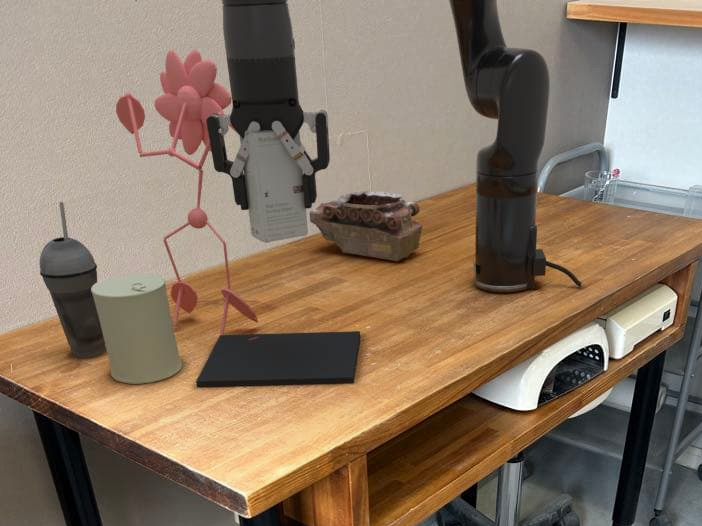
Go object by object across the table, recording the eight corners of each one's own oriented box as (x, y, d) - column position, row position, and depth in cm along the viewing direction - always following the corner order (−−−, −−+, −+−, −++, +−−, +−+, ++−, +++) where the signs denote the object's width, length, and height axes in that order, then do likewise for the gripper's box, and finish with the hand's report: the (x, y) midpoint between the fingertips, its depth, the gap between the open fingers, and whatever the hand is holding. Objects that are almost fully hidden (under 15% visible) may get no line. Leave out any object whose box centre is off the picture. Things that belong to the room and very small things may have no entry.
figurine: (264, 345, 117) (227, 51, 99) (130, 321, 129) (75, 54, 110) (329, 314, 128) (306, 44, 110) (200, 294, 140) (160, 48, 121)
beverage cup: (69, 343, 123) (30, 197, 112) (120, 340, 123) (87, 194, 112) (56, 363, 117) (14, 211, 106) (110, 360, 117) (74, 208, 106)
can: (138, 390, 109) (116, 297, 102) (97, 372, 114) (74, 283, 107) (196, 366, 114) (179, 277, 107) (155, 351, 119) (136, 264, 113)
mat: (360, 336, 121) (360, 330, 121) (353, 383, 108) (353, 377, 108) (220, 340, 122) (219, 334, 122) (196, 387, 109) (195, 381, 108)
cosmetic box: (265, 244, 103) (252, 134, 96) (249, 236, 106) (235, 129, 99) (311, 235, 105) (301, 127, 99) (294, 227, 109) (283, 123, 102)
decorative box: (382, 273, 145) (379, 213, 140) (296, 255, 155) (290, 199, 150) (427, 253, 154) (426, 197, 148) (343, 238, 164) (339, 184, 158)
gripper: (188, 57, 92) (212, 217, 101) (322, 53, 91) (333, 214, 101) (202, 51, 98) (224, 202, 107) (327, 47, 97) (338, 199, 107)
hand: (277, 207), depth 104 cm, fingers closed on cosmetic box, 7 cm apart
